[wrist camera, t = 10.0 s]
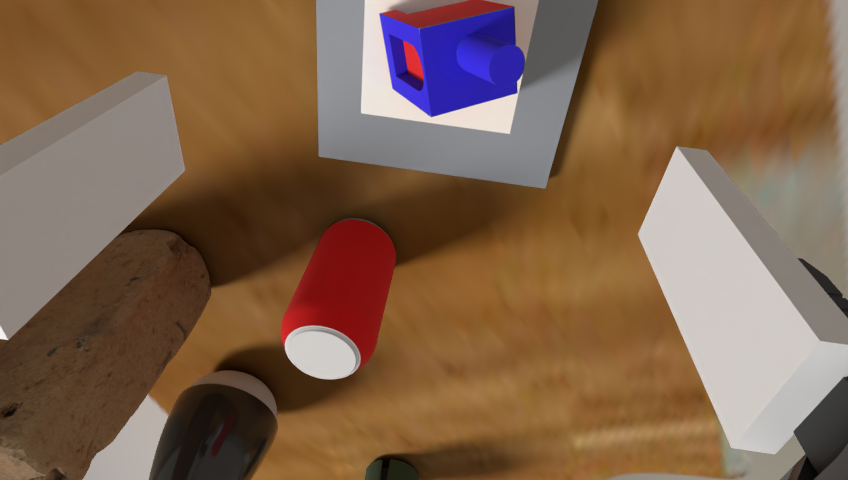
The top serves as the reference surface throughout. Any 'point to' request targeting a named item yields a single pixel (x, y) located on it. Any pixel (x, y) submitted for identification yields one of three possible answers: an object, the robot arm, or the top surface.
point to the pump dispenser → (217, 430)
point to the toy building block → (453, 55)
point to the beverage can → (340, 301)
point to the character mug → (391, 471)
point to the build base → (447, 139)
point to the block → (96, 353)
